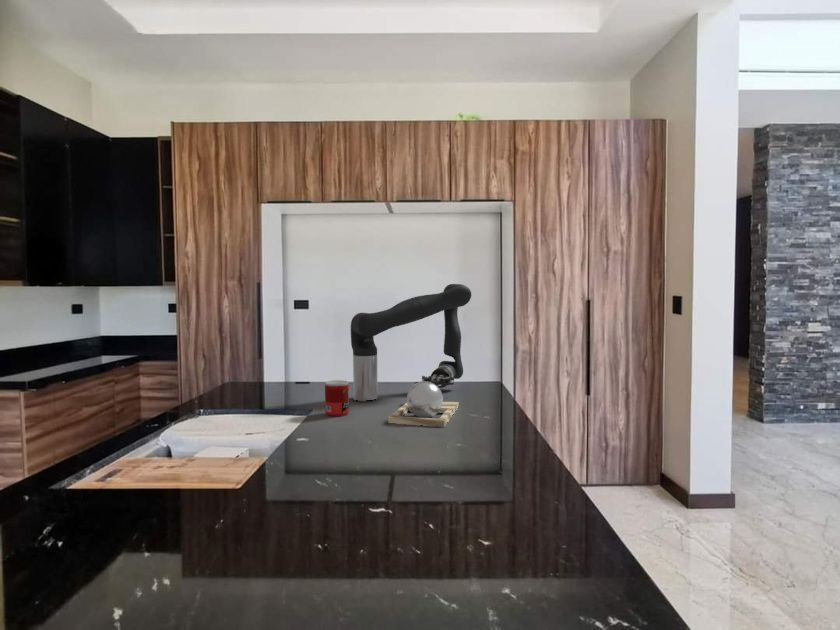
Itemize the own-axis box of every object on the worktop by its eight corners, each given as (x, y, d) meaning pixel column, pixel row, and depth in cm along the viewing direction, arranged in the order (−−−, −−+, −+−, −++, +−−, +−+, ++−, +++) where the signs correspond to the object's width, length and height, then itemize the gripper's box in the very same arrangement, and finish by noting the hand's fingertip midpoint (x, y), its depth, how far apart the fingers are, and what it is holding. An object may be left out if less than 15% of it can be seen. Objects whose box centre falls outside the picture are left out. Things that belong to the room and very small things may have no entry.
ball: (404, 388, 178) (395, 408, 167) (426, 368, 173) (419, 387, 162) (429, 410, 180) (422, 431, 169) (452, 391, 175) (447, 411, 164)
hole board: (410, 404, 189) (410, 399, 189) (458, 407, 185) (458, 402, 185) (388, 423, 164) (388, 417, 164) (444, 427, 160) (444, 420, 159)
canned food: (347, 417, 172) (346, 384, 172) (323, 417, 172) (322, 384, 172) (350, 411, 180) (350, 380, 179) (327, 411, 180) (327, 380, 179)
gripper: (426, 366, 203) (414, 373, 186) (459, 367, 199) (450, 375, 183) (426, 385, 203) (414, 394, 186) (459, 386, 200) (450, 396, 183)
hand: (432, 384), depth 184 cm, fingers closed
